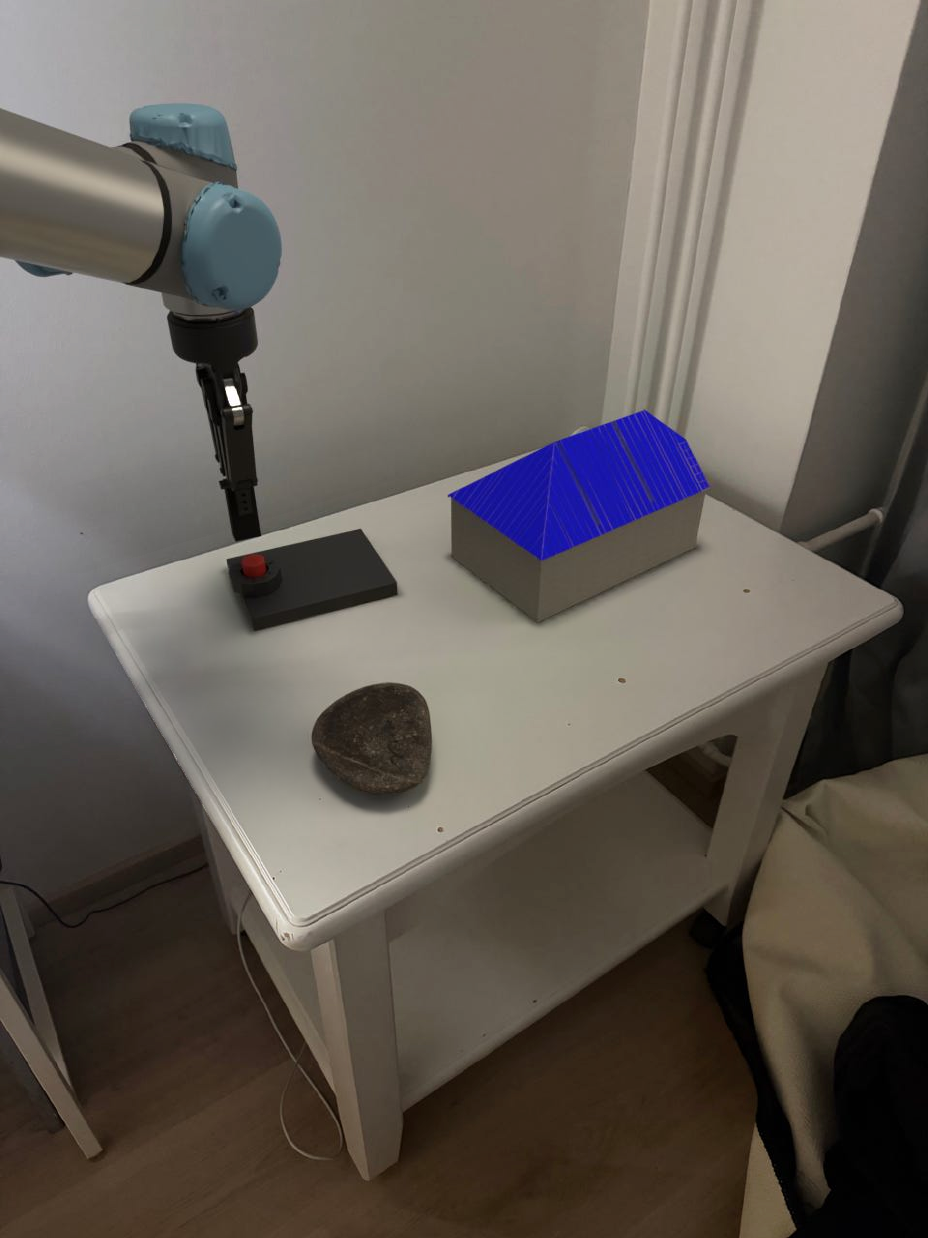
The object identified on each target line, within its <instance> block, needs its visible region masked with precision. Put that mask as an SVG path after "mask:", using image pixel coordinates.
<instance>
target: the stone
mask: <svg viewBox="0 0 928 1238" xmlns="http://www.w3.org/2000/svg"><path fill="white" fill-rule="evenodd" d="M432 733H433V732H432V722H431V713H430V709H429V706H428V702H427V700H426V698H425V697H424V696H423V694H421V692H420V691H419V690H417V689H416V688H415V687H412V686H411V685H408V684H405V683H400V682H387V681H386V682H379V683H374V684H369V685H365V686H363V687H360V688H357V689H355V690H354V689H353V690H352V691H350V692H348V693H346V694H345V695H343V696H342V697H339V698H338V699H336V700H335V701H333V702H332V703H331V704H330V705H329V706H327V708H325V709H324V710H323V711H322V712H321V713H320V714H319V716H318V717H317V719H316V720H315V722H314V725H313V727H312V731H311V744H312V748H313V750H314V752H315V754H316V756H317V758H318V759H319V760H320V763H322V764H323V766H324V767H325V768H326V769H327V770H328V771H329V772H330V773H331V774H332V776H334V777H335V778H336V779H338V780H339V782H341V783H344V785H346V786H348V787H349V788H352V789H354V790H356V791H358V792H361V793H364V794H367V795H373V796H393V795H398V794H402V793H405V792H408V791H409V790H412V789H414V788H416V787H417V786H419V785H420V784H422V783H423V782H424V780H425V779H426V777H427V775H428V772H429V768H430V765H431V764H430V763H431V759H432V751H433V735H432Z"/></svg>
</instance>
